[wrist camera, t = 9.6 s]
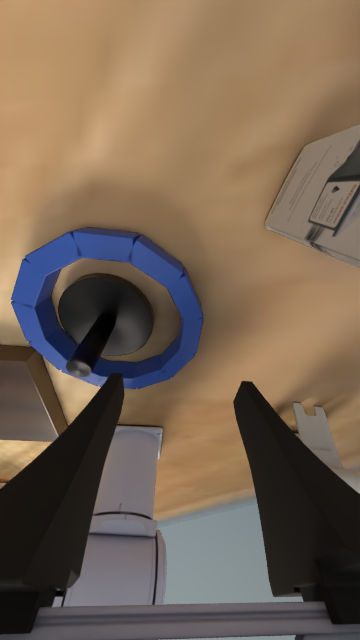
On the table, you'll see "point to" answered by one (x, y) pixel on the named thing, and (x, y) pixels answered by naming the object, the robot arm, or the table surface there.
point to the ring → (113, 246)
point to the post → (103, 320)
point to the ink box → (323, 197)
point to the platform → (27, 397)
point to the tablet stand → (322, 442)
